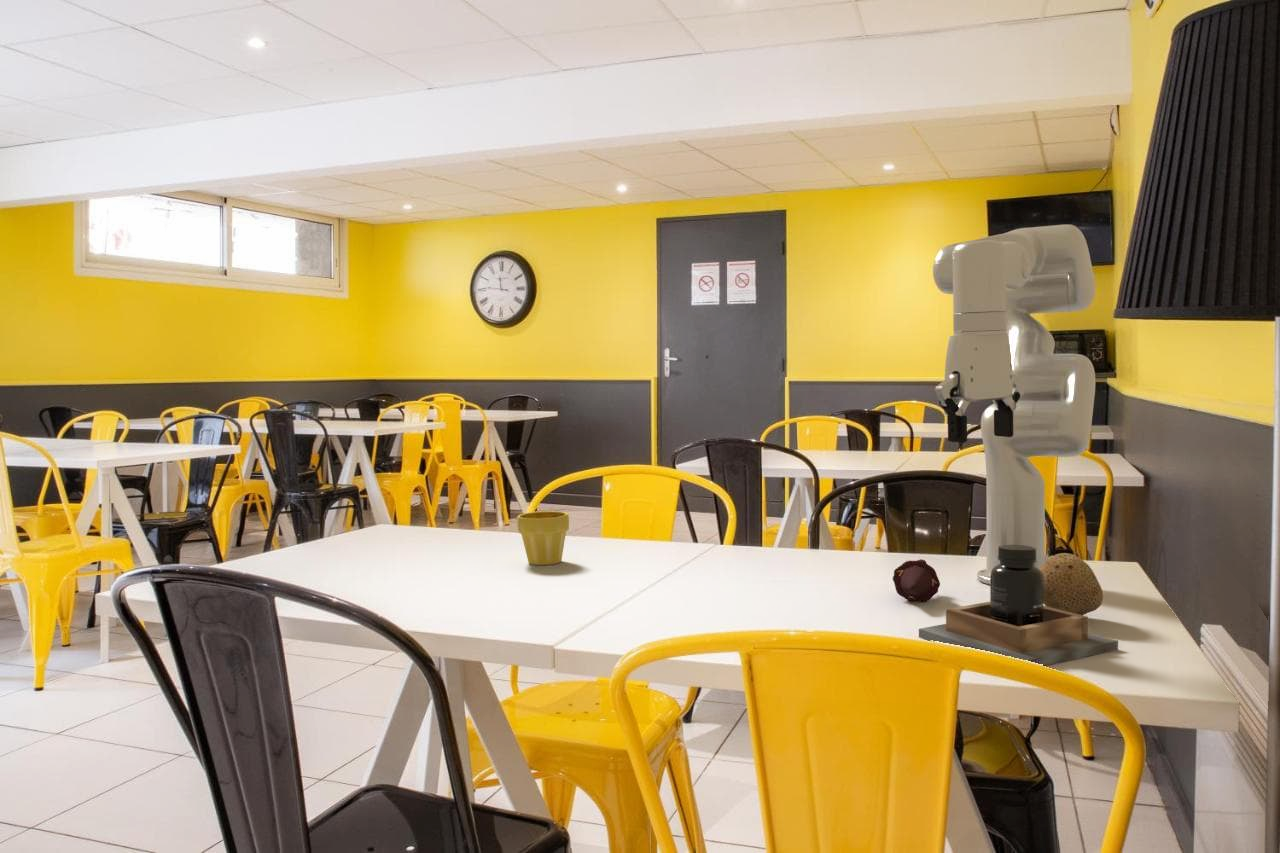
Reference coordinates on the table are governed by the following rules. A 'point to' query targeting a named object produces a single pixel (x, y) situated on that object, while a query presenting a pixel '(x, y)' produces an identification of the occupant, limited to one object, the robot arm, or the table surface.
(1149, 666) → the table surface
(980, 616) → the collar board
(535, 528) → the plant pot
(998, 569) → the supplement bottle
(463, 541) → the table surface
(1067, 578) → the natural sponge
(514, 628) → the table surface
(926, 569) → the icecream
